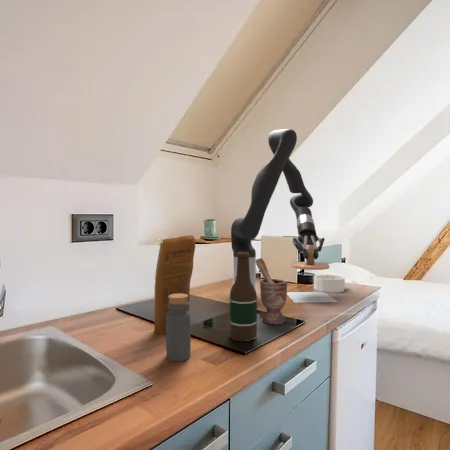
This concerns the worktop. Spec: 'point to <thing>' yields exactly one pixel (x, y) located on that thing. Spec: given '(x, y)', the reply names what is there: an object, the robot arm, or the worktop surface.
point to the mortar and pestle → (272, 295)
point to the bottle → (178, 328)
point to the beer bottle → (243, 302)
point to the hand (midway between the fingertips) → (311, 258)
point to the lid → (310, 261)
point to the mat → (310, 297)
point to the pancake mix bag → (172, 275)
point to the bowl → (329, 283)
